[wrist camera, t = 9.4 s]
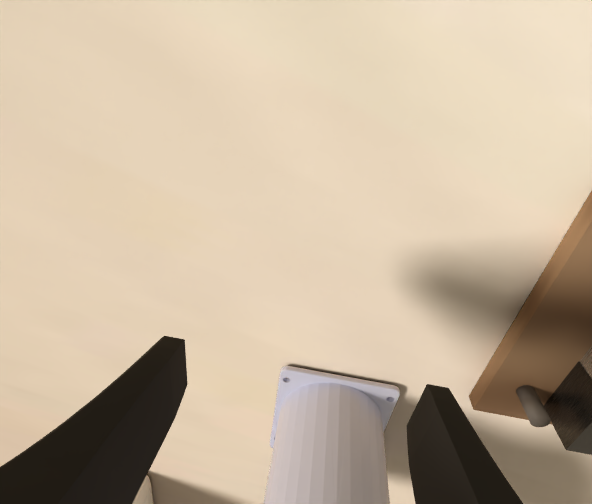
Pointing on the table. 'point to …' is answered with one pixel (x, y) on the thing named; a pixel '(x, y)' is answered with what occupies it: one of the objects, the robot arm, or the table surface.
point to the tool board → (544, 333)
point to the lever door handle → (574, 407)
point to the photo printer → (144, 493)
